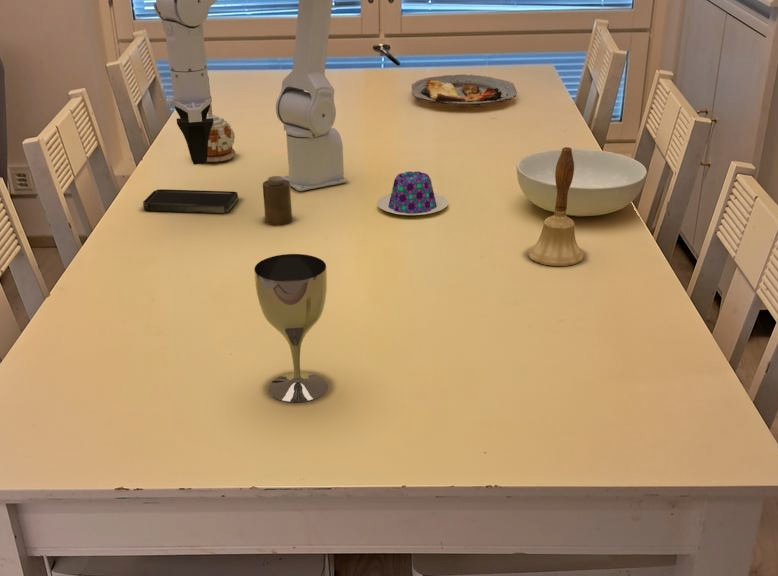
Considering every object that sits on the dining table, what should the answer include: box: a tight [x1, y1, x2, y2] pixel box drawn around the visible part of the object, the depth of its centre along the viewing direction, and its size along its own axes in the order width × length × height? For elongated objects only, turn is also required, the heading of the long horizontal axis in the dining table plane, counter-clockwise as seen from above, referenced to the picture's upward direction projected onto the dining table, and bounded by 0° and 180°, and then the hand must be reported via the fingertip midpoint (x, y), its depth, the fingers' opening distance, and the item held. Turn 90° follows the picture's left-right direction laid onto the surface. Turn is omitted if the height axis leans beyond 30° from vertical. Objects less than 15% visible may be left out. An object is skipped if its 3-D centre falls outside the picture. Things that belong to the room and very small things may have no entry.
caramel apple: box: [206, 76, 236, 163], centre depth 193 cm, size 8×8×15 cm
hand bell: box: [527, 146, 585, 267], centre depth 149 cm, size 8×8×16 cm
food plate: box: [411, 73, 518, 107], centre depth 230 cm, size 25×23×4 cm
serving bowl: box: [516, 148, 648, 218], centre depth 168 cm, size 21×21×7 cm
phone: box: [142, 188, 239, 214], centre depth 175 cm, size 8×1×15 cm
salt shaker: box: [262, 175, 293, 226], centre depth 166 cm, size 4×4×7 cm
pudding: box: [376, 171, 449, 216], centre depth 171 cm, size 12×12×5 cm
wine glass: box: [253, 253, 329, 403], centre depth 117 cm, size 8×8×15 cm
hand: (198, 156), depth 166 cm, fingers open, 7 cm apart
